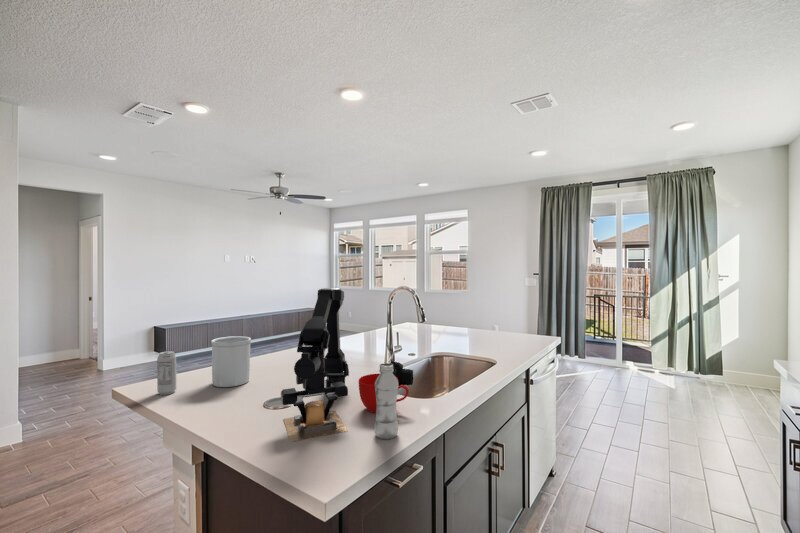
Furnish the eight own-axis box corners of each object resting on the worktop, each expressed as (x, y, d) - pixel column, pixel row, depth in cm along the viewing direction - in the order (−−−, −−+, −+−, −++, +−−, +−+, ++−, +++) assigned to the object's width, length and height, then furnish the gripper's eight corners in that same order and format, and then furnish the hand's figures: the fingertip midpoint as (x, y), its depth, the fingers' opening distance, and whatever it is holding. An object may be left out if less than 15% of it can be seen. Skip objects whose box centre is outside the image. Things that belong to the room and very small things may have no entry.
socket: (335, 412, 120) (335, 406, 120) (348, 432, 106) (348, 425, 106) (283, 420, 114) (283, 414, 114) (290, 443, 99) (290, 436, 99)
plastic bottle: (373, 432, 106) (373, 362, 106) (397, 431, 106) (397, 361, 106) (374, 443, 99) (374, 368, 99) (399, 442, 100) (399, 367, 100)
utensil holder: (238, 374, 162) (238, 334, 162) (258, 380, 153) (258, 338, 153) (204, 383, 150) (204, 339, 150) (223, 390, 141) (223, 344, 141)
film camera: (408, 392, 139) (408, 368, 139) (383, 391, 141) (383, 367, 141) (415, 380, 154) (415, 358, 154) (392, 378, 156) (392, 357, 156)
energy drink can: (180, 390, 142) (179, 350, 142) (168, 395, 136) (168, 354, 136) (165, 389, 143) (165, 350, 142) (153, 395, 137) (153, 354, 137)
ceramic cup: (401, 422, 113) (401, 389, 113) (351, 414, 119) (351, 382, 118) (414, 406, 125) (414, 376, 125) (368, 400, 131) (368, 371, 131)
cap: (322, 419, 113) (322, 399, 113) (326, 426, 108) (326, 406, 108) (303, 422, 111) (303, 402, 111) (306, 430, 106) (306, 409, 106)
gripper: (338, 359, 121) (339, 407, 121) (278, 365, 113) (278, 416, 113) (348, 367, 111) (348, 420, 111) (282, 375, 103) (283, 431, 103)
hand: (314, 421), depth 110 cm, fingers closed on cap, 5 cm apart
